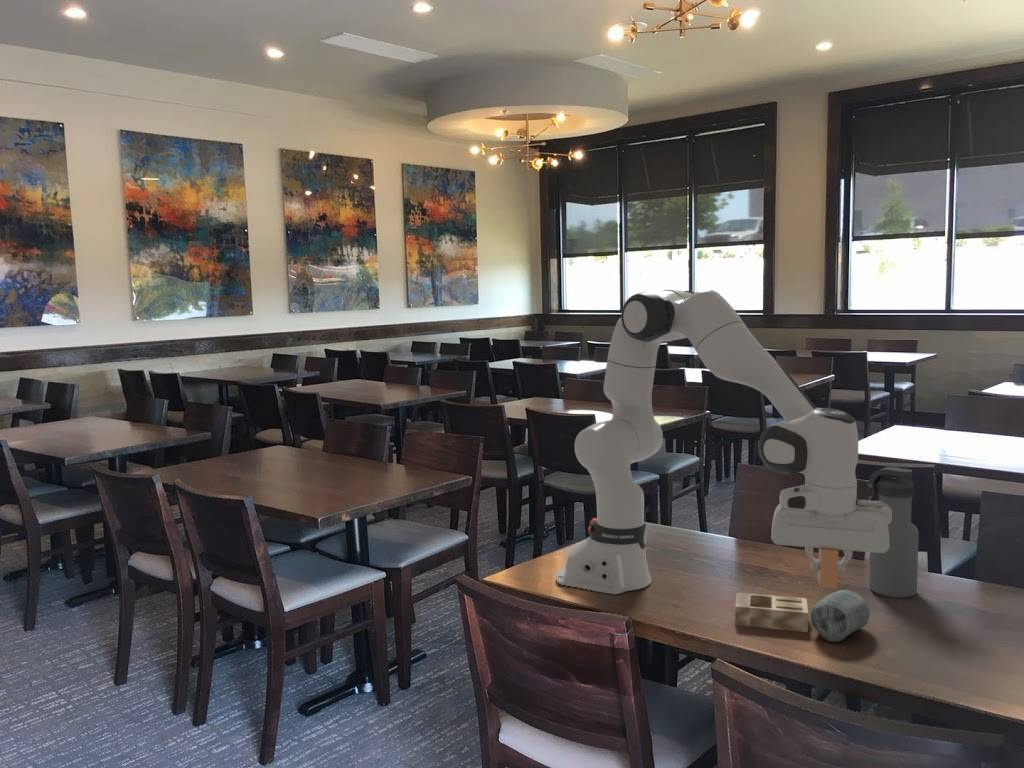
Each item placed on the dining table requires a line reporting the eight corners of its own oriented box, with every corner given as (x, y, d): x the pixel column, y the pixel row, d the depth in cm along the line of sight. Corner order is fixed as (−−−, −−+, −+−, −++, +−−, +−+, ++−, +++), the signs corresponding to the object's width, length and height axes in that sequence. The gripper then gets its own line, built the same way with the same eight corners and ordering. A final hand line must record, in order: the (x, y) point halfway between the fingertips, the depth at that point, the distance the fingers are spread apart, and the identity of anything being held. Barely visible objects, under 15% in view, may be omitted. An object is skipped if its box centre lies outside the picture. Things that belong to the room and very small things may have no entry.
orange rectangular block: (819, 587, 147) (820, 549, 146) (818, 577, 152) (819, 541, 151) (837, 588, 146) (838, 551, 145) (835, 579, 151) (836, 542, 150)
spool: (848, 638, 150) (834, 584, 154) (805, 646, 157) (793, 594, 161) (888, 637, 158) (874, 585, 162) (846, 644, 165) (833, 595, 169)
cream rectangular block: (735, 625, 165) (735, 605, 165) (736, 610, 173) (736, 591, 172) (807, 632, 161) (808, 611, 160) (806, 616, 168) (806, 596, 168)
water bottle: (859, 590, 182) (861, 468, 179) (879, 579, 189) (882, 462, 186) (904, 602, 175) (908, 476, 172) (924, 591, 181) (928, 468, 178)
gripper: (890, 497, 147) (886, 570, 149) (772, 490, 153) (770, 560, 155) (895, 506, 141) (891, 582, 143) (772, 498, 147) (770, 571, 149)
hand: (827, 570), depth 149 cm, fingers closed on orange rectangular block, 3 cm apart
